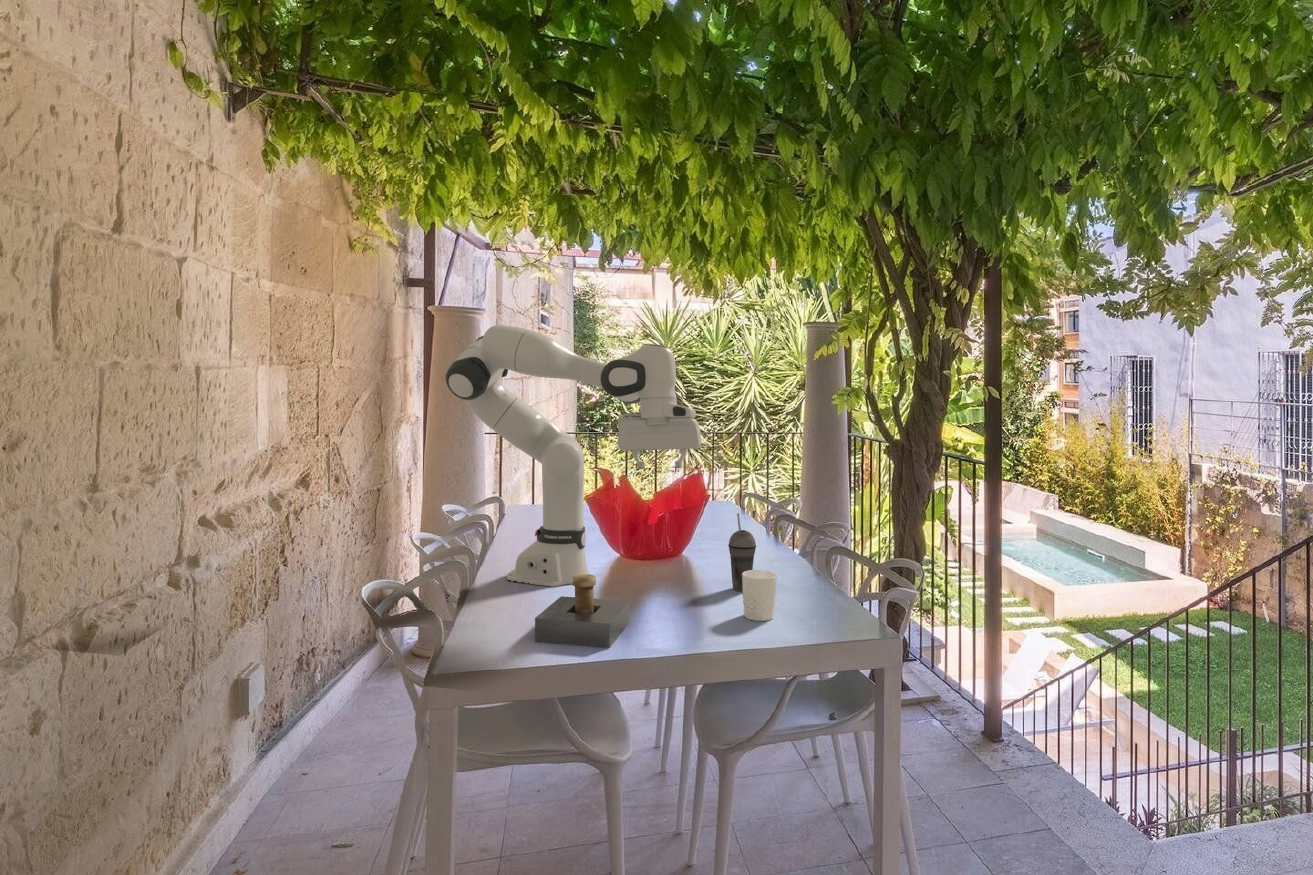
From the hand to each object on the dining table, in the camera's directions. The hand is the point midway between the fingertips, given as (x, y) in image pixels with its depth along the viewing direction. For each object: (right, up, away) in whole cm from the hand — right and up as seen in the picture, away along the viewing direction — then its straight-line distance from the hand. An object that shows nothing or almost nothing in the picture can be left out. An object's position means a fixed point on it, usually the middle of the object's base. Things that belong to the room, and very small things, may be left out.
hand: (659, 468), depth 175 cm
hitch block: (-16, -34, -19) cm, 42 cm away
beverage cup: (+21, -32, +15) cm, 42 cm away
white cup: (+23, -34, -8) cm, 42 cm away
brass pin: (-16, -34, -19) cm, 42 cm away
